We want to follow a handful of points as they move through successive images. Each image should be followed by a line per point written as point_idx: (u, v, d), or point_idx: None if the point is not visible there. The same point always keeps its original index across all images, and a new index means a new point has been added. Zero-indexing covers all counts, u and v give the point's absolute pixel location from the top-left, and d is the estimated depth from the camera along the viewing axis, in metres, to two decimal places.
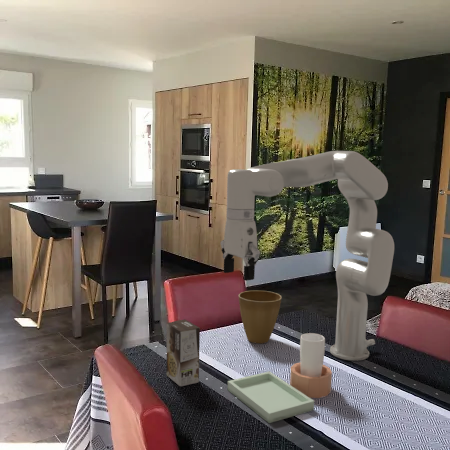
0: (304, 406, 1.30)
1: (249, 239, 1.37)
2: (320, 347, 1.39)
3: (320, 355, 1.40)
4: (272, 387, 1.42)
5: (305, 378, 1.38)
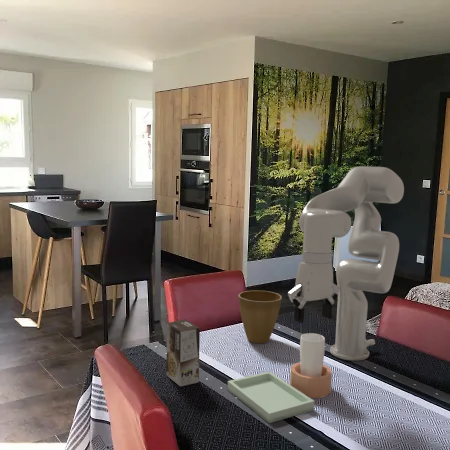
0: (304, 406, 1.30)
1: None
2: (320, 347, 1.39)
3: (320, 355, 1.40)
4: (272, 387, 1.42)
5: (305, 378, 1.38)
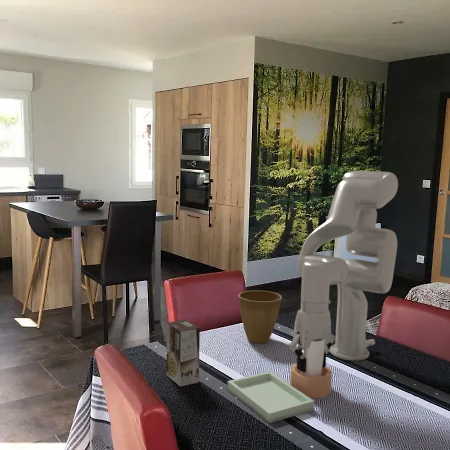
0: (304, 406, 1.30)
1: None
2: (320, 347, 1.39)
3: (320, 355, 1.40)
4: (272, 387, 1.42)
5: (305, 378, 1.38)
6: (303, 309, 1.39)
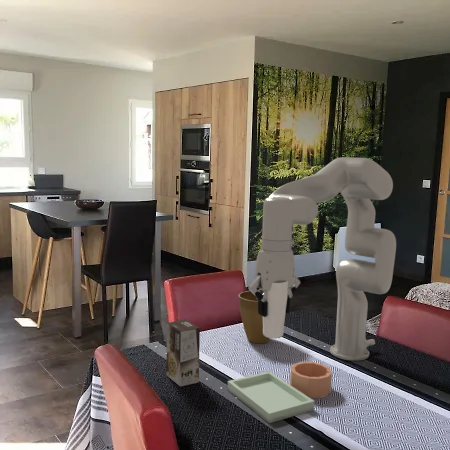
0: (304, 406, 1.30)
1: None
2: (282, 289, 1.30)
3: (282, 298, 1.30)
4: (272, 387, 1.42)
5: (305, 378, 1.38)
6: (264, 248, 1.30)
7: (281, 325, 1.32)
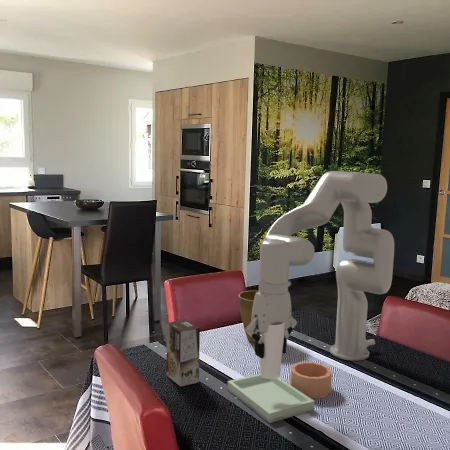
0: (304, 406, 1.30)
1: None
2: (279, 331, 1.31)
3: (279, 340, 1.32)
4: (272, 387, 1.42)
5: (305, 378, 1.38)
6: (261, 291, 1.31)
7: (278, 366, 1.34)
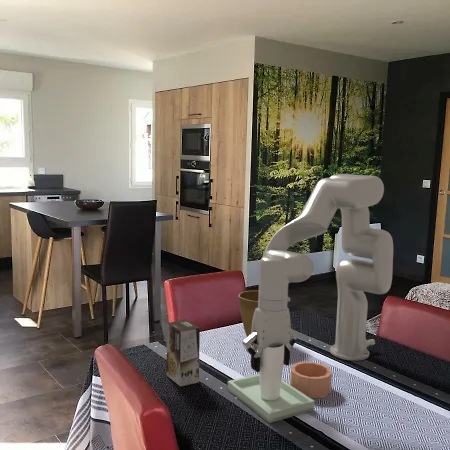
0: (304, 406, 1.30)
1: None
2: (279, 353, 1.32)
3: (279, 362, 1.33)
4: None
5: (305, 378, 1.38)
6: (260, 307, 1.32)
7: (277, 388, 1.34)
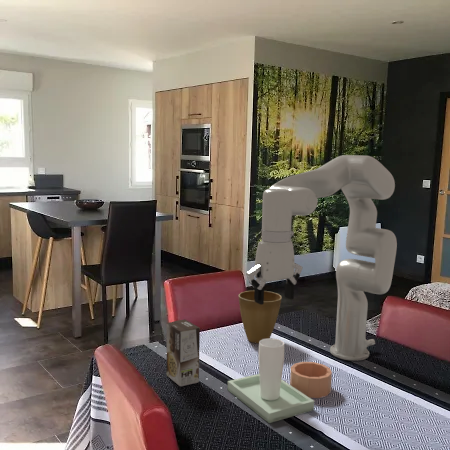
0: (304, 406, 1.30)
1: None
2: (279, 353, 1.32)
3: (279, 361, 1.33)
4: None
5: (305, 378, 1.38)
6: (264, 239, 1.31)
7: (277, 387, 1.35)
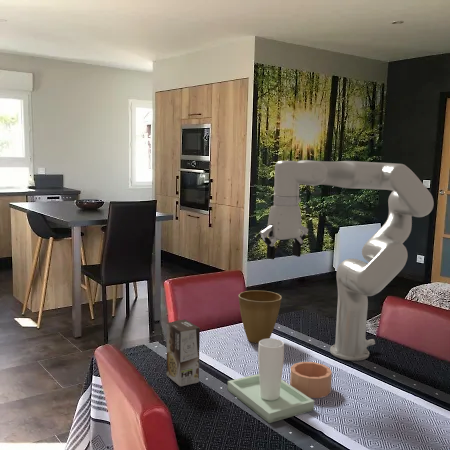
0: (304, 406, 1.30)
1: None
2: (279, 353, 1.32)
3: (278, 362, 1.33)
4: None
5: (305, 378, 1.38)
6: (276, 203, 1.54)
7: (277, 388, 1.34)
